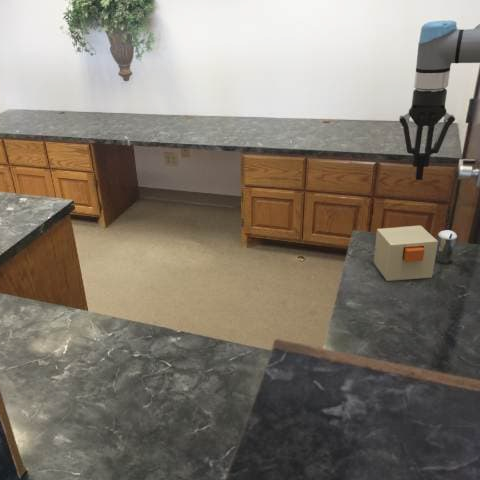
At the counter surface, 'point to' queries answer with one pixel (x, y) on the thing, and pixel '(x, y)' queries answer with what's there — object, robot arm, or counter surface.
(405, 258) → the orange block
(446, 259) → the milkshake
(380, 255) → the beige box with handle
